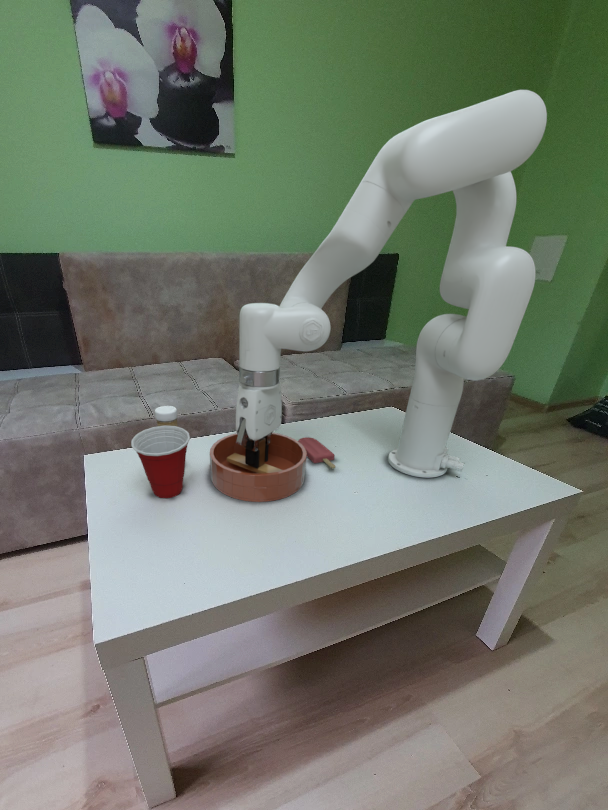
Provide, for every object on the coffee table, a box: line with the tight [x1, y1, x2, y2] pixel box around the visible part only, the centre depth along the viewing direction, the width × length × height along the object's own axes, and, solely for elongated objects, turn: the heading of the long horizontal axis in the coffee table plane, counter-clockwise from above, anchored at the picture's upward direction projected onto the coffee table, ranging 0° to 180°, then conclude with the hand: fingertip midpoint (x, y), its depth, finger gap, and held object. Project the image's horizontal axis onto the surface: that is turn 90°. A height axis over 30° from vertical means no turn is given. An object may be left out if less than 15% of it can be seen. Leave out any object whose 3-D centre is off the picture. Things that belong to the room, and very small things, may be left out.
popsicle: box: [297, 436, 336, 469], centre depth 91 cm, size 5×2×15 cm
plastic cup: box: [130, 426, 191, 499], centre depth 75 cm, size 11×11×12 cm
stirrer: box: [227, 438, 282, 473], centre depth 80 cm, size 14×3×7 cm, turn 53°
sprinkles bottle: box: [154, 405, 179, 427], centre depth 83 cm, size 5×5×13 cm
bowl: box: [209, 431, 307, 503], centre depth 82 cm, size 20×20×6 cm
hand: (256, 462), depth 81 cm, fingers closed on stirrer, 2 cm apart
